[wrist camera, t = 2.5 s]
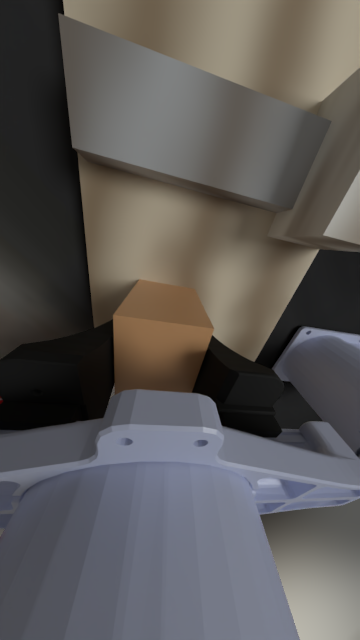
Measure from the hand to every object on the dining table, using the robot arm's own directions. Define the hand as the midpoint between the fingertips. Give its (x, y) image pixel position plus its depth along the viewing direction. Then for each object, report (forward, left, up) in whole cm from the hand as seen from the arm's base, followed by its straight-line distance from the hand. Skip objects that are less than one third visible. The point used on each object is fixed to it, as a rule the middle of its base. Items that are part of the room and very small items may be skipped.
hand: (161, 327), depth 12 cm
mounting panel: (-2, -7, -3) cm, 8 cm away
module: (0, 0, -2) cm, 2 cm away
